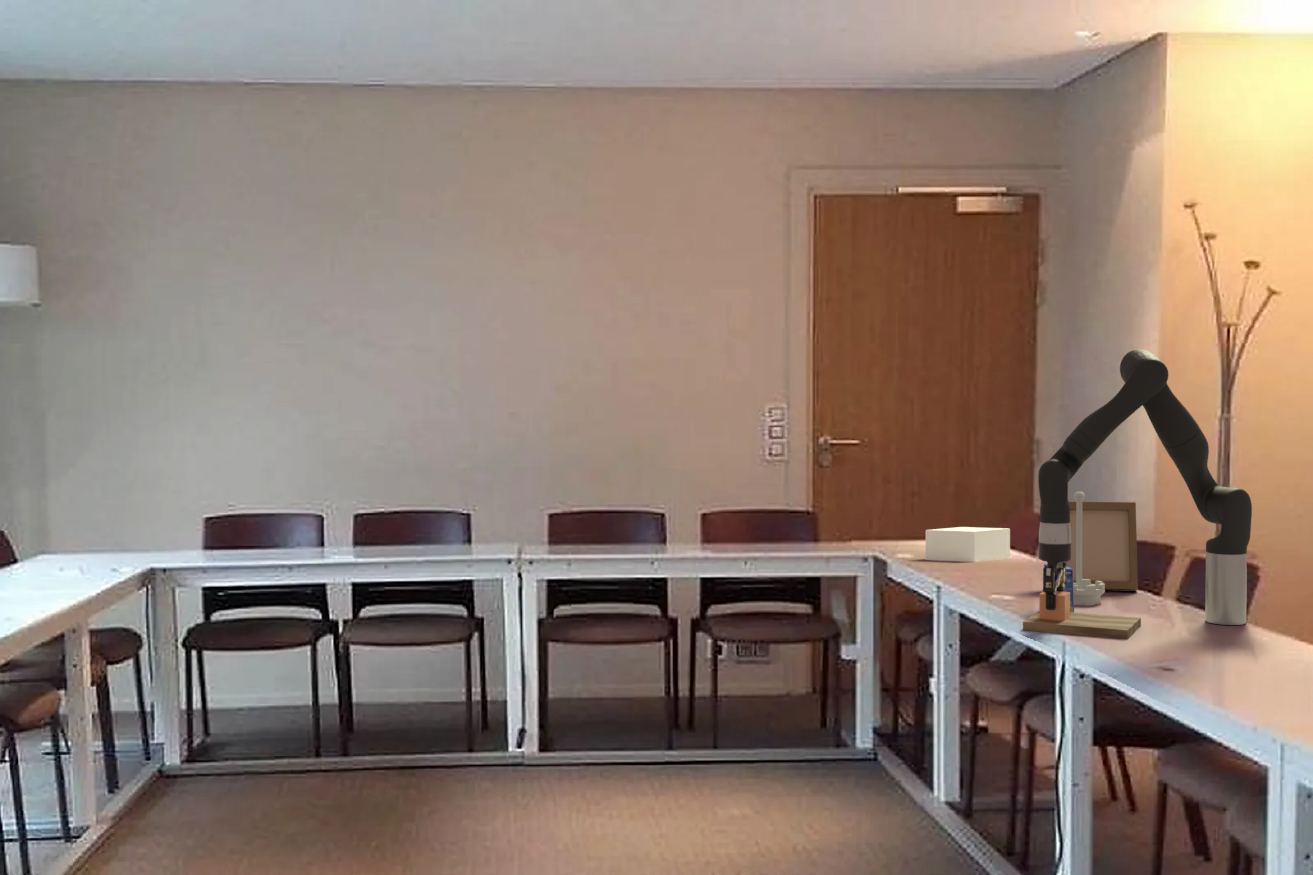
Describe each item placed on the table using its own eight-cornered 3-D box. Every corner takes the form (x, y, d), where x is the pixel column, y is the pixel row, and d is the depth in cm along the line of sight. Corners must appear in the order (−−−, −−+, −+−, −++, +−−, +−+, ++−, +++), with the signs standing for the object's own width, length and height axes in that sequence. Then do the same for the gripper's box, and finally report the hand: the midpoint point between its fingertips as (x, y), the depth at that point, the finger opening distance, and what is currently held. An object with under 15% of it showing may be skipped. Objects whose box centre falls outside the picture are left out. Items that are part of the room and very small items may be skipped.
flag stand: (1107, 606, 343) (1108, 493, 342) (1056, 605, 345) (1056, 493, 344) (1101, 598, 356) (1101, 489, 354) (1051, 597, 358) (1051, 489, 357)
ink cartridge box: (1043, 609, 339) (1043, 554, 338) (1064, 610, 338) (1064, 554, 338) (1052, 616, 329) (1052, 559, 328) (1074, 616, 328) (1075, 559, 328)
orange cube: (1045, 614, 320) (1045, 590, 320) (1070, 616, 317) (1070, 592, 317) (1039, 618, 315) (1039, 594, 315) (1064, 620, 312) (1064, 595, 312)
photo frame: (1137, 592, 364) (1138, 503, 363) (1056, 590, 369) (1056, 503, 368) (1131, 585, 378) (1131, 499, 377) (1053, 583, 383) (1053, 499, 383)
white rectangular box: (919, 557, 444) (919, 527, 443) (1002, 555, 446) (1002, 526, 445) (931, 563, 429) (931, 532, 429) (1017, 561, 431) (1017, 530, 431)
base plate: (1040, 617, 327) (1040, 592, 327) (1140, 625, 315) (1141, 599, 315) (1022, 630, 311) (1022, 603, 311) (1127, 638, 299) (1127, 610, 299)
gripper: (1064, 545, 308) (1064, 612, 308) (1077, 538, 320) (1076, 603, 321) (1032, 543, 311) (1032, 610, 312) (1046, 537, 324) (1045, 601, 324)
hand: (1054, 607), depth 316 cm, fingers open, 8 cm apart
